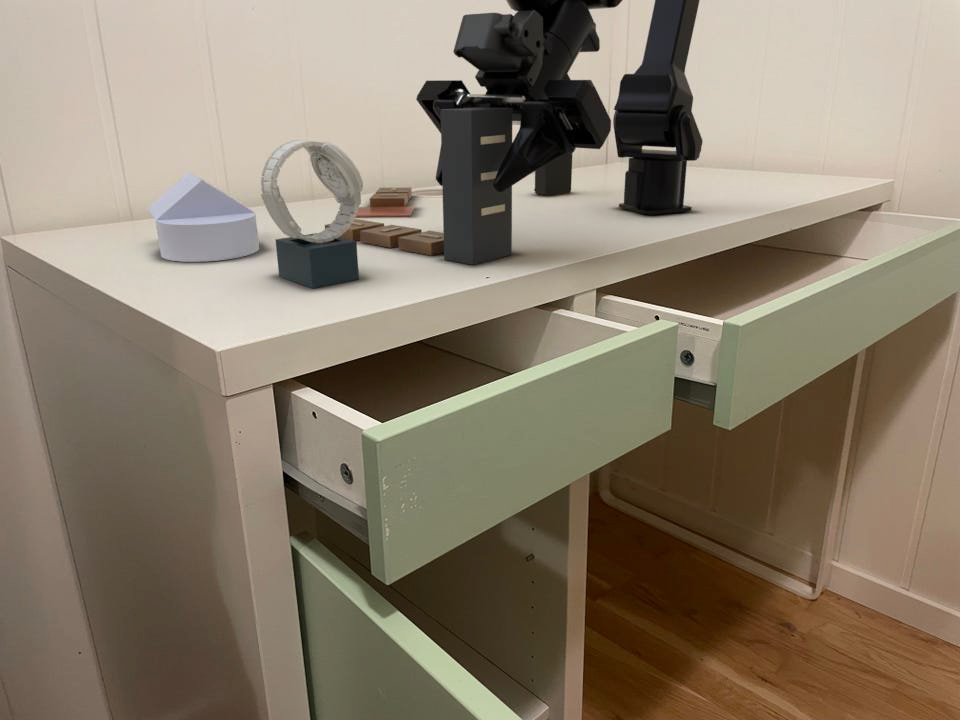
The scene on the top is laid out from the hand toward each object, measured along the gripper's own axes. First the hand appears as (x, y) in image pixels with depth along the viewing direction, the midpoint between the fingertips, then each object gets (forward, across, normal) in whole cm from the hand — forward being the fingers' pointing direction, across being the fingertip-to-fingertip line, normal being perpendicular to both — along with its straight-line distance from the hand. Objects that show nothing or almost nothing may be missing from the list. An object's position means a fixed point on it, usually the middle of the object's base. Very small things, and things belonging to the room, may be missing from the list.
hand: (467, 185), depth 68 cm
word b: (-8, -29, +17) cm, 34 cm away
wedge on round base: (+13, -24, -4) cm, 27 cm away
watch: (+14, -5, -4) cm, 15 cm away
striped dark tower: (+4, 0, +6) cm, 7 cm away
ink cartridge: (-22, -18, +32) cm, 43 cm away
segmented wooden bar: (+4, -12, +6) cm, 13 cm away
